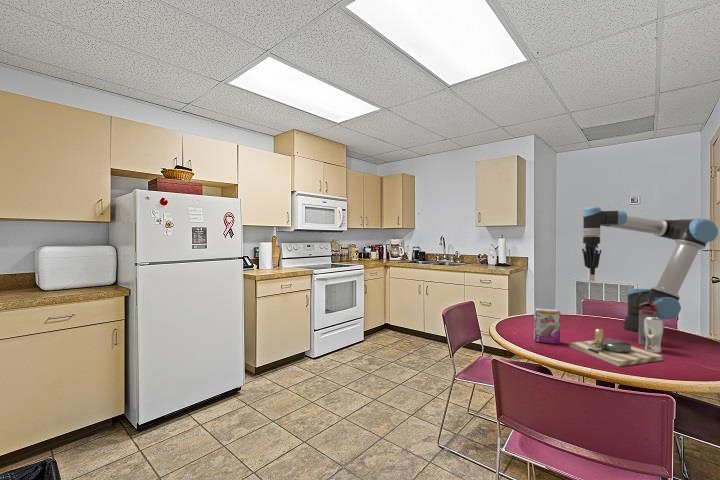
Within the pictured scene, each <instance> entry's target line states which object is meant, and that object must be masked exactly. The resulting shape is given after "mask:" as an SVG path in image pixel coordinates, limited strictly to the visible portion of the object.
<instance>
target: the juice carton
mask: <svg viewBox="0 0 720 480" xmlns="http://www.w3.org/2000/svg"><path fill="white" fill-rule="evenodd" d="M644 317H656V318H657V305H655V304H653V303H651V302H649V298H648V300H647V302H644V303H641V304H640V305H639V332H638V344H640V345H644V346H645V344H646V339H645V334H644Z"/></svg>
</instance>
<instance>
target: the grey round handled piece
mask: <svg viewBox="0 0 720 480" xmlns="http://www.w3.org/2000/svg"><path fill="white" fill-rule="evenodd" d="M594 340H595V343H591V344H592V345H595V347H597V348H602V349H604V350H607V351H611V352H617V353H629V352H631V346H632V344H630V343H628V342H626V341H623V340H619V339H615V338H614V339H613V338H604V329H602V328H595V329H594Z"/></svg>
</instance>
